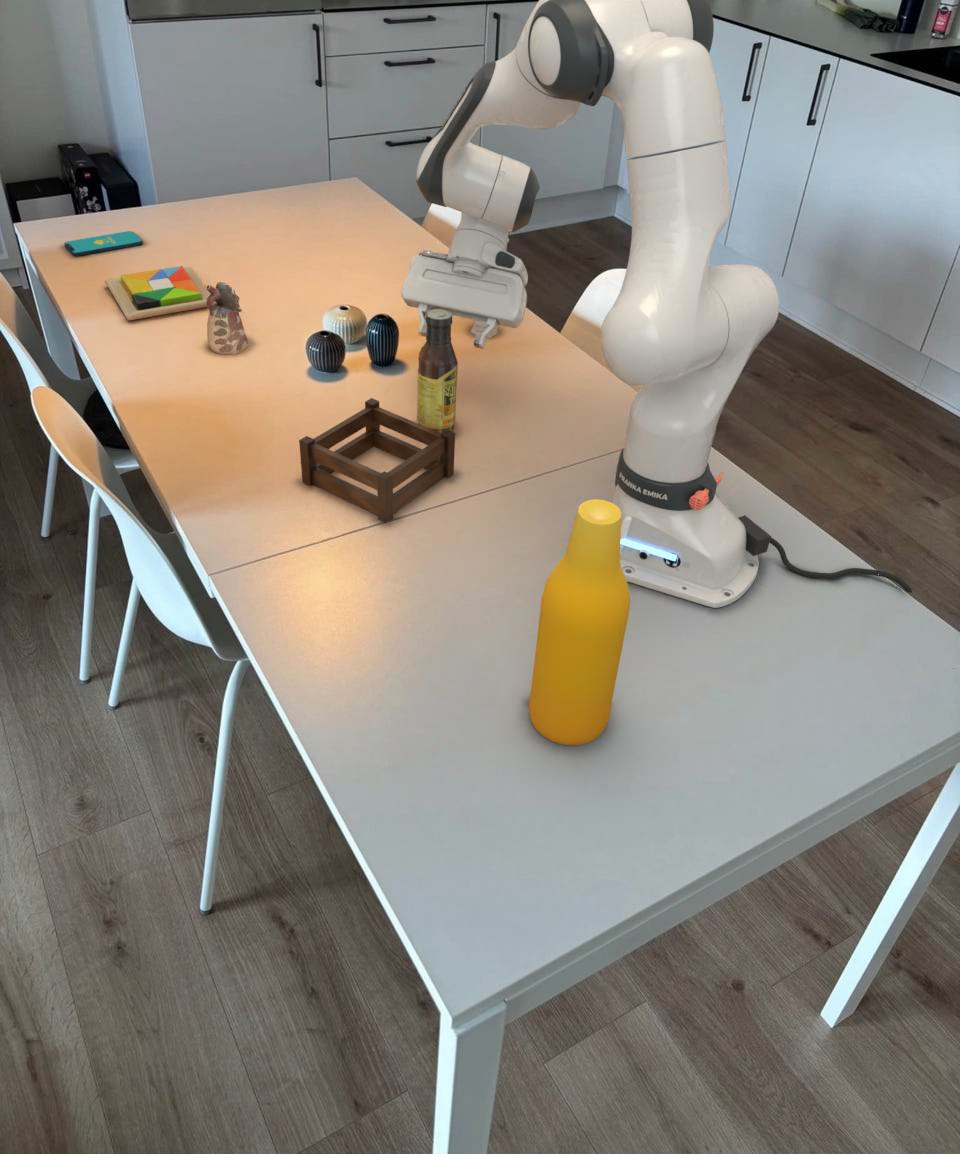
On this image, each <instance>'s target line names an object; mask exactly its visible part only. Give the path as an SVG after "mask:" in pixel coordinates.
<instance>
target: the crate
mask: <svg viewBox="0 0 960 1154" xmlns="http://www.w3.org/2000/svg"><path fill="white" fill-rule="evenodd" d="M381 426H382V427H384V428H386V429H389V430H392V431H393V432H396V433H398V434H401V435H402V436H405V437H408V438H410V439H412V440H415V441H416V442H419V443H421V444H424V445H426V446H425V447H424V448H421V447H418V446H416V445H414V444H412V443H409V442H406V441H404V440H402V439H400V438H397V437H395V436H393V435H391V434H389V433H386V432H384V431H382V430H381ZM363 429H365V432H363V433H361V434H360V435H358V436H356V437H355V438H354V439H352V440H350V441H349V442H346V443H345V444H344V445H342V446H341V447H338V448H337V449H335V450H331V448H333V447H335V446H336V445H338V444H339V443H341V442H342V441H344V440H346V439H348V438H350V437H351V436H353V435H355V434H356V433H358V432H359V431H361V430H363ZM298 442H299V454H300V469H301V479H302V480H301V481H302V484H304V485H306V486H309V487H312V486H315V487H317V488H318V489H321V490H324V491H325V492H328V493H329V494H331V495H334V496H336V497H337V498H340V499H342V500H343V501H346V502H348V503H351V504H353V505H355V506H357V507H359V508H361V509H363V510H365V511H367V512H369V513H371V514H373V515H375V516H377V519H378V520H379V521H382V522H384V523H385V524H387V523H389V522H390V521H391V520H393V519H394V515H395V514H396V513H397V512H398V511H400V510H401V509H403V508H404V507H405V506H407V505H408V504H409V503H412V502H413V501H414V500H416V498H419V496H421V495H422V494H424V493H425V492H426V491H428V490H429V489H431V488H432V487H434V486H435V485H436V484H438V483H439V482H441V481H442V480H443V479H444V478H445V479H449V478H450V477H451V478H452V476H453V475H454V473H455V452H456V451H455V450H456V447H455V446H456V433H455V432H454V431H449V430H445V431H444V432H442V433H439V432H437V431H435V430H432V429H430V428H428V427H425V426H423V425H420V424H418V422H415V421H413V420H411V419H408V418H406V417H404V416H401V415H399V414H396V413H395V412H391V411H389V410H387V409H385V408H382V407H380V400H377V399H375V398H372V397H371V398H369V399H367V400H365V401H364V408H363V409H361V410H360V411H358V412H356V413H354V414H352V415H351V416H349V417H348V418H346V419H344V420H343V421H341V422H339V423H338V424H335V425H334V426H333V427H331V428H329V429H328V430H326V431H324V432H322V433H321V434H319V435H318V436H316V437H314V438H313V437H311V436H308V435H305V436H304V437H302V438H300V439H299V440H298ZM373 447H375V448H376V449H379V450H382V451H384V452H386V453H389V454H391V455H392V456H395V457H397V458H400V459H402V460H404V461H403V462H401V463H399V464H398V465H397V466H394V468H392V469H391V470H389V471H388V472H387V471H385V470H384V471H382V472H379V471H377V470H376V469H373V468H371V467H369V466H366V465H364V464H362V463H359V462H357V461H355V460H354V459H356V458H358V457H359V456H361V455H362V454H364V453H365V452H368V450H370V449H372V448H373ZM422 469H425V471H424V472H422V473H421V474H419V475H418V476H416V477H415V478H413V479H412V480H410V481H409V482H407V483H406V484H405V485H403V486H402V487H400V488H399V489H398V490H396V491H395V492H394V489H395V488H396V487H398V486H400V485H401V484H403V483H404V482H406V481H407V480H408V479H410V478H411V477H412V476H414V475H415V474H417V473H418V472H419V471H422ZM335 472H336V473H339V474H341V475H343V476H345V477H348V478H349V479H352V480H353V481H355V482H358V483H360V484H363V485H365V486H366V487H369V488H371V489H373V490H375V491H377V495H376V494H374V493H372V492H370V491H368V490H366V489H363V488H361V487H359V486H357V485H355V484H353V483H351V482H349V481H347V480H344V479H342V478H340V477H338V476H336V475H334V474H332V473H335Z"/></svg>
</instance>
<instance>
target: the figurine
mask: <svg viewBox="0 0 960 1154" xmlns="http://www.w3.org/2000/svg"><path fill="white" fill-rule="evenodd" d="M205 287H206V290H208V291H209V292H210V293H211V294H210V295H209V297H208V298H207V307H206V308H207V311H208V317H207V325H206V329H207V330H206V337H207V344H208V347H209V349H210V350H211V351H212V352H213V353H216V354H219V355H237V354H240V353H242V352H243V351H245V350H246V348H248V347H249V345H250V344H249V340H248V336H247V333H246V330H245V327H244V324H243V321H242V317H241V315H240V313H241V312H243V308H242V307H241V306H240V299H241V298H240V297H239V296H238V295H237V294H236V291H235V289H234V288H233V287H232V286H231V285H229V284H228V283H226V282H224V281H219V282H217V283H216V285H215V287H214V286H213V285H211V284H207V285H205ZM214 301H216V302H217V303H216V304H215V305H214V306H211V303H212V302H214Z"/></svg>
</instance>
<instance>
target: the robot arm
mask: <svg viewBox="0 0 960 1154" xmlns="http://www.w3.org/2000/svg"><path fill="white" fill-rule="evenodd" d="M531 11H532V12H531V13H530V14H529V17H528V19H527V20H526V23H525V25H524V27H523V29H522V31H521V34H520V36H519V39H518V41H517V43H516V46H515V48H514V49H513V50H512V51H510V53H507V55H505V56H504V57H502V58H500V59H498V60H492V61H488V62H485V63H484V64H482V65H481V66H480V67H479V69H478V70H477V71H476V72H475V73H474V75H473V76H472V78H471V79H470V80H469V82H468V83H467V85H466V87H465V88H464V90H463V91H462V92H461V94H460V96H459V97H458V99H457V101H456V102H455V104H454V105H453V107H452V108H451V110H450V112H449V114H448V115H447V117H446V119H445V120H444V121H443V123H442V125H441V127H440V128H439V129H438V130H437V131H436V133H435V134H434V135H433V137H432V138H431V140H430V141H429V142H428V144H427V145H426V146H425V148H424V149H423V151H422V153H421V155H420V157H419V160H418V163H417V167H416V175H415V176H416V179H415V183H416V186H417V187H418V189H419V191H420V194H421V195H422V196H423V199H425V200H426V202H427V203H430V204H433V205H437V206H440V207H444V208H449V209H452V210H455V211H457V212H460V213H461V216H460V217H461V218H460V222H459V224H458V225H457V227H456V229H454V233H453V237H452V240H451V243H450V247H449V250H448V253H443V252H434V251H431V250H427V249H424V250H422V251H420V252H418V253H415V254H414V255H413V257H411V260H410V264H409V268H408V269H409V270H408V272H407V275H406V277H405V278H404V281H403V284H402V286H401V289H400V295H401V298H402V300H403V302H404V303H405V304H406V305H407V306H408V307H411V308H415V309H417V313H418V318H419V322H420V324H419V328H418V334H419V336H421V337H425V338H426V336H427V324H426V313H427V312H428V311H429V310H434V309H443V310H447V311H449V312H450V313H451V314H452V317H454V316H455V317H457V318H464V319H468V320H472V321H476V320H477V321H482V322H487V323H486V324H487V326H488V327H487V328H486V330H485V331H484V332H483V333H482V334H476V335H474V338H475V339H474V340H473V346H474V348H478V349H480V350H481V349H482V350H485V348H486V345H487V341H488V340H489V339H491V337H493V336H492V335H493V334H494V333H495V332H496V331H497V332H498V328H499V326H502V327H506V328H510V329H517V328H518V327H520V326H521V325H522V324H523V321H524V317H525V313H526V309H527V303H528V294H527V290H526V286H527V284H528V281H529V275H528V271H527V268H526V265H525V264H524V262H523V261H522V259H521V258H519V257H518V256H516V255H514V254H513V253H510V251H509V252H508V251H507V250H508V243H507V239H508V238H509V235H510V234H511V233H515V232H517V231H519V230H520V229H522V228H524V227H526V226H528V224H530V221H531V219H532V216H533V215H532V214H533V210H534V206H535V201H536V199H537V198H536V197H537V195H538V194H539V191H540V189H541V186H540V183H539V180H538V177H537V175H536V173H535V171H534V169H533V167H530V166H529V165H527V164H525V163H524V162H521V161H520V160H516V159H514V158H512V157H509V156H506V155H503V154H501V153H500V154H499V153H497V152H495V151H492V150H489V149H487V148H485V147H482V146H479V145H477V144H474V143H472V142H471V139H472V138H473V137H474V136H475V134H476V132H477V131H478V130H479V129H481V128H482V127H485V126H491V125H493V126H494V125H502V126H512V127H519V128H525V129H529V130H530V129H531V130H548V129H552V128H556V127H559V126H562V125H563V124H566V123H567V122H569V121H570V120H572V119H573V118H574V117H575V116H576V115H577V114H578V113H579V111H580V110H581V109H582V107H583V106H584V105H586V106H590V107H595V106H596V105H597V104H598V102H599V101H600V99H601V97H604V98H608V99H610V100H611V101H612V102H613V103H614V104H615V105H616V106H617V107H618V109H619V111H620V115H621V118H622V119H621V120H622V126H623V140H624V153H625V158H626V160H625V161H626V170H627V171H626V172H627V181H628V191H629V203H630V204H629V205H630V215H631V217H630V218H631V240H630V249H629V254H628V261H627V265H626V270H625V274H624V278H623V281H622V285H621V288H620V290H619V293H618V295H617V297H616V300H615V301H614V303H613V305H612V307H611V308H610V309H609V311H608V312H607V314H606V315H605V317H604V319H603V322H602V324H601V329H600V338H599V339H600V341H599V342H600V349H601V353H602V356H603V359H604V362H605V364H606V365H607V367H608V369H609V370H610V371H611V373H612V374H613V375H614V376H615V377H616V378H617V379H619V380H620V381H622V382H623V383H625V384H627V385H631V386H641V388H640V389H639V390H638V391H637V393H636V395H635V396H634V398H633V400H632V403H631V406H630V410H629V416H628V421H627V422H628V423H627V427H626V433H625V434H626V435H625V439H624V440H625V441H624V447H623V448H622V449H621V451H620V453H619V457H618V461H617V464H616V470H615V477H614V478H615V480H614V486H615V491H614V493H613V498H612V501H611V503H613V504H615V505H616V506H617V507H618V508H619V509H620V511H621V538H620V565H621V568H622V570H623V573H624V575H625V578H626V580H627V583H632V584H634V585H637V586H640V587H644V588H647V589H651V590H654V591H657V592H660V593H663V594H667V595H670V596H673V597H676V598H680V599H682V600H686V601H689V602H693V603H696V604H699V605H702V606H706V607H709V608H714V609H719V608H722V607H726V606H728V605H730V604H732V603H735V602H736V601H737V600H739V599H740V598H741V597H742V596H744V595H745V594H746V593H747V591H748V590H749V589H750V588H751V587H752V585H753V583H754V582H755V580H756V578H757V575H758V572H759V567H760V566H759V564H760V561H759V557H758V556H759V555H762V554H764V553H767V552H768V550H769V546H770V544H771V545H772V546H773V547H774V548H775V549H776V550H777V551H778V554H779V556H780V559H781V562H782V564H783V565H784V566H785V567H786V568H787V569H788V570H790V571H791V572H793V573H795V574H797V575H799V576H803V577H806V578H807V577H808V578H814V579H837V578H841V577H844V576H848V575H852V574H860V575H869V576H876V577H881V578H885V579H888V580H891V581H892V582H895V583H896V584H898V585H899V586H900V587H901V588H902V589H903V590H904V591H905V592H907V593H913V589H912V588H911V587H910V585H909V584H908V583H907V582H906V581H905V580H904V579H902V578H901V577H899V576H897V575H895V574H892V573H890V572H887V571H882V570H877V569H870V568H863V567H862V568H861V567H849V568H846V569H842V570H839V571H836V572H816V571H809V570H804V569H801V568H799V567H797V566H795V565H793V564H792V563H791V562H790V561H789V559H788V557H787V554H786V550H785V549H784V548H783V545H781V543H779V542H778V541H777V540H776V539H775V538H773V537H772V536H771V535H770V533H768V532H766V531H765V530H764V529H763V528H761V526H759V525H758V524H757V523H755V521H753V520H752V519H751V518H749V517H748V516H747V515H741V516H737V515H736V514H735V513H734V512H733V511H732V510H731V509H730V507H729V505H727V504H726V503H725V502H724V501H723V499H722V498H721V497H720V496H719V494H717V492H716V491H717V487H718V485H719V484H721V481H722V477H723V472H720V473H719V474H718V475H717V476H716V477H714V475H713V473H712V472H711V468H710V464H709V458H710V453H711V449H712V447H713V443H714V442H713V441H714V439H715V435H716V431H717V427H718V423H719V420H720V417H721V415H722V412H723V410H724V408H725V405H726V404H727V402H728V399H729V397H730V395H731V393H732V391H733V390H734V387H735V386H736V383H737V382H738V379H739V378H740V376H741V374H742V372H743V370H744V368H745V366H746V365H747V363H748V362H749V360H750V358H751V356H752V354H753V353H754V352H755V350H756V349H757V347H758V346H759V344H760V343H761V342H762V341H763V339H765V337H766V336H767V335H768V334H769V333H770V332H771V331H772V330H773V328H774V326H775V325H776V323H777V320H778V317H779V312H780V297H779V292H778V290H777V287H776V284H775V283H774V281H773V280H772V278H771V277H770V275H769V274H768V273H767V272H765V271H764V270H763V269H761V268H760V267H757V266H755V265H751V264H739V263H738V264H737V263H735V264H719V265H715V266H711V267H710V262H711V258H712V254H713V249H714V247H715V244H716V241H717V239H718V237H719V235H720V234H721V232H722V231H723V229H725V226H726V225H727V222H728V221H729V218H730V215H731V210H732V209H731V208H732V202H731V201H732V200H731V190H730V189H731V187H730V176H729V175H730V174H729V162H728V151H727V150H728V148H727V140H726V139H727V135H726V127H725V126H726V125H725V118H724V111H723V104H722V98H721V93H720V88H719V83H718V80H717V75H716V71H715V67H714V65H713V60H712V58H711V54H710V52H711V49H712V45H713V39H714V30H715V29H714V27H715V26H714V24H715V23H714V17H713V12H712V8H711V4H710V1H709V0H538V1H537V3H536V5H535V6H534V8H533V10H531ZM878 574H879V575H878Z"/></svg>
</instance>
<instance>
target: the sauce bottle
mask: <svg viewBox="0 0 960 1154" xmlns="http://www.w3.org/2000/svg"><path fill="white" fill-rule="evenodd" d="M425 317H426V324H427V336H426V337H425V340H426V341H425V342H424V344H423V346H422V347H421V348H420V351H419V352H418V369H417V389H416V390H417V395H416V397H417V398H416V401H417V402H416V421H417V423H418V424H420V425H423V426H425V427H428V428H430V429H432V430H435V431H437V432H439V433H442V432H444V431H445V430H449V431H452V432H454V429H455V424H456V417H457V416H456V414H457V393H458V391H457V389H458V370H459V367H458V366H459V362H458V359H457V355H456V353H455V350H454V346H453V343H452V324H453V315H452V314H451V313H450V312H449V311H447V310H443V309H434V310H429V311H428V312H427V313H426V316H425Z"/></svg>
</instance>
